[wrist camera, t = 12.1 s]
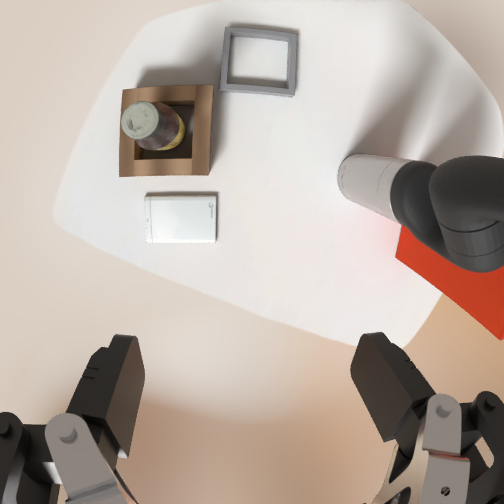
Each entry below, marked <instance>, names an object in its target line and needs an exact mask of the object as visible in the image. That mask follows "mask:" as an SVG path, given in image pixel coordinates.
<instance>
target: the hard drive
mask: <svg viewBox="0 0 504 504" xmlns="http://www.w3.org/2000/svg"><path fill="white" fill-rule="evenodd" d="M144 213H145V230H146V242H147V243H216V196H145V197H144Z"/></svg>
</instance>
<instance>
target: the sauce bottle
mask: <svg viewBox="0 0 504 504" xmlns="http://www.w3.org/2000/svg"><path fill="white" fill-rule="evenodd" d="M121 126H122V129H123V131H124V133H125V134H126V135H127V136H128V137H130V138H132V139H135V141H136V143H137V144H138V145H139V146H141V147H142V148H144V149H147V150H168V149H172V148H174V147H176V146H177V145H178V144H179V143H180V142H181V141H182V140H183V138H184V135H185V124H184V122H183V120H182V119H181V118H180V117H179V116H178V114H177V113H176V112H175V111H174V110H173V109H172V108H170V107H169V106H167V105H165V104H163V103H158V102H152V103H150V102H147V101H137V102H135V103H133V104H131V105H130V106H129V107H128V108H127V109H126V110H125V111H124V113H123V115H122V119H121Z"/></svg>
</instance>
